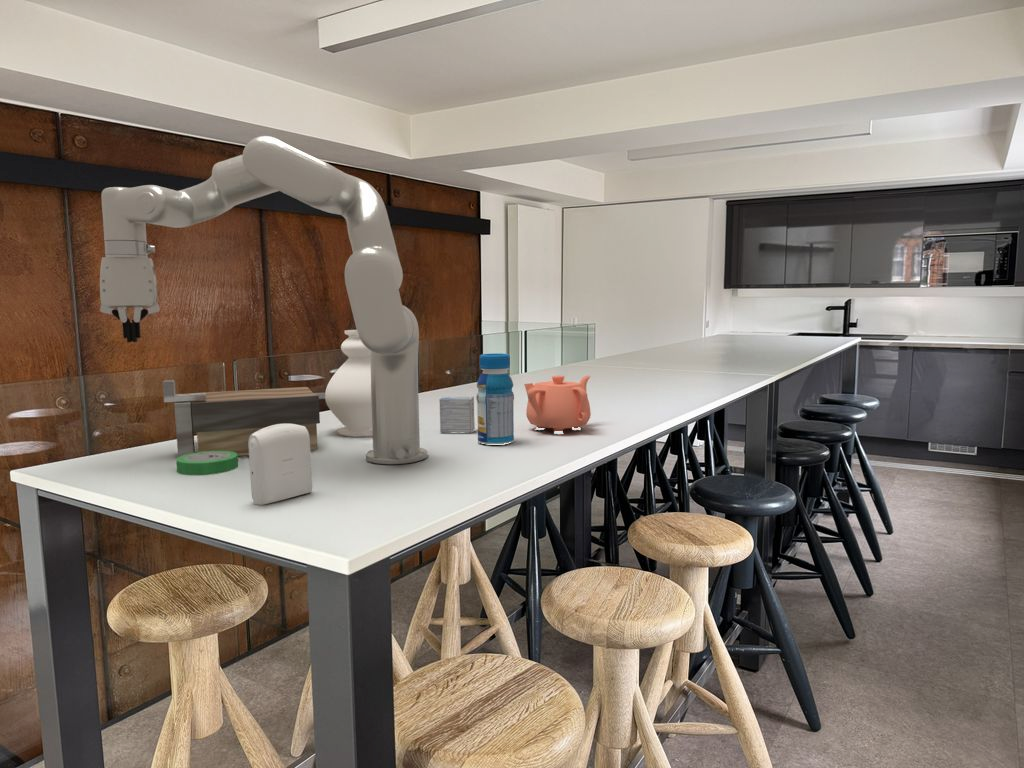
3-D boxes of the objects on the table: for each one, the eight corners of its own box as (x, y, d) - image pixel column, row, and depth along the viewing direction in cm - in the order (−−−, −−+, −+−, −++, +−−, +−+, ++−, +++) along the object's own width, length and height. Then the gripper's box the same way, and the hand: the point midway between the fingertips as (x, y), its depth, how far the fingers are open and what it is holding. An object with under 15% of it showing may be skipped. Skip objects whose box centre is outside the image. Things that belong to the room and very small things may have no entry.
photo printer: (261, 507, 114) (257, 430, 113) (247, 502, 117) (243, 427, 115) (316, 493, 122) (313, 421, 120) (302, 489, 125) (298, 419, 123)
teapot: (524, 424, 184) (524, 372, 183) (590, 423, 185) (590, 371, 183) (527, 436, 168) (526, 379, 167) (598, 436, 169) (599, 379, 167)
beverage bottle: (502, 448, 156) (501, 356, 154) (469, 444, 160) (468, 355, 158) (521, 441, 164) (520, 353, 161) (489, 437, 168) (488, 352, 165)
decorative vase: (384, 422, 189) (381, 327, 186) (412, 433, 174) (409, 330, 171) (317, 430, 180) (313, 330, 177) (340, 442, 165) (336, 333, 162)
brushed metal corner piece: (205, 399, 152) (204, 379, 151) (164, 402, 149) (162, 381, 148) (206, 398, 155) (205, 378, 154) (165, 400, 152) (163, 380, 151)
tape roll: (250, 464, 144) (249, 451, 144) (209, 478, 134) (208, 464, 134) (206, 461, 148) (205, 448, 148) (164, 474, 138) (163, 460, 137)
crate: (317, 449, 157) (315, 397, 156) (177, 461, 147) (173, 406, 146) (307, 433, 176) (305, 387, 174) (182, 442, 165) (179, 394, 164)
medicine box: (475, 430, 177) (474, 395, 176) (472, 434, 173) (471, 398, 172) (443, 430, 178) (442, 395, 177) (439, 433, 173) (439, 398, 172)
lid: (319, 423, 155) (318, 395, 154) (193, 432, 146) (191, 403, 145) (308, 408, 176) (307, 384, 175) (197, 415, 167) (195, 390, 166)
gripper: (168, 252, 151) (173, 339, 153) (87, 251, 145) (93, 341, 148) (165, 250, 144) (171, 342, 146) (80, 249, 138) (87, 344, 141)
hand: (132, 341), depth 147 cm, fingers closed
